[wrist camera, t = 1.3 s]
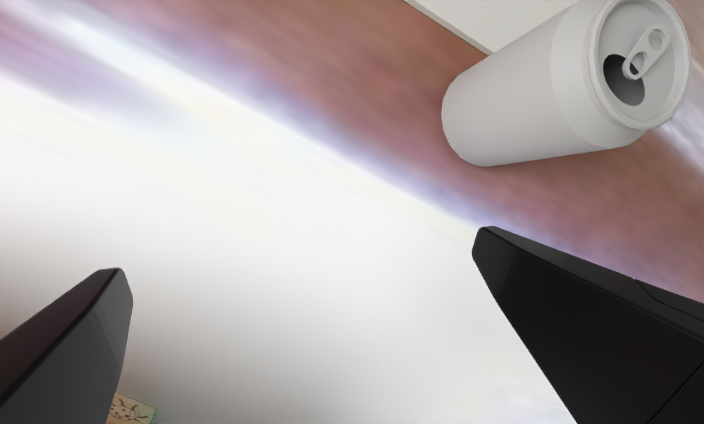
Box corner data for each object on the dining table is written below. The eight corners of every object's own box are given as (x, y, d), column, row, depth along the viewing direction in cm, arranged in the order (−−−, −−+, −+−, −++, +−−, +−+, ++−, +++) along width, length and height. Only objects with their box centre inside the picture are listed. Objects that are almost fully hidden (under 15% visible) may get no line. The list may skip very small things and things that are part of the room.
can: (417, 129, 25) (555, 67, 13) (467, 51, 26) (636, -69, 14) (487, 186, 27) (662, 176, 15) (532, 112, 28) (728, 49, 16)
